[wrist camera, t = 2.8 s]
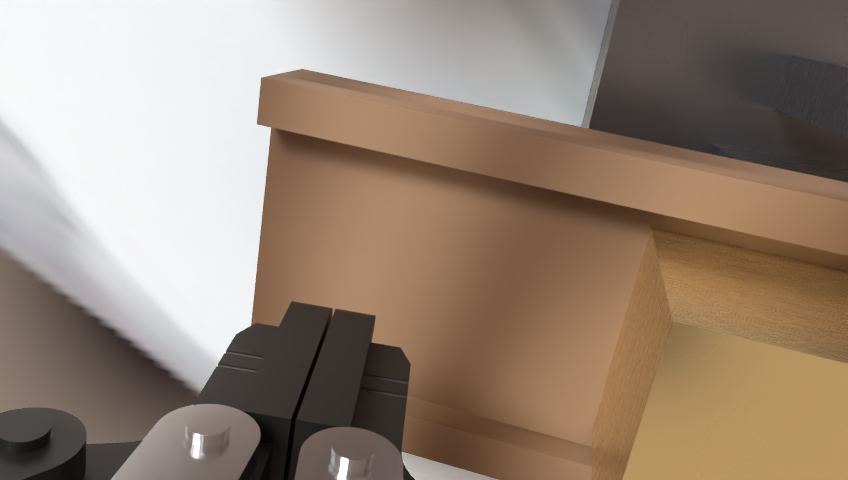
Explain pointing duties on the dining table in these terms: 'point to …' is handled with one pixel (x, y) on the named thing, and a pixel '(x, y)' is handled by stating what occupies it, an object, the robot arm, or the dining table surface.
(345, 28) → the dining table surface
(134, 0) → the dining table surface
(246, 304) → the dining table surface
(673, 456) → the block
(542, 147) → the balance beam
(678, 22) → the pivot stand
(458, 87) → the dining table surface
